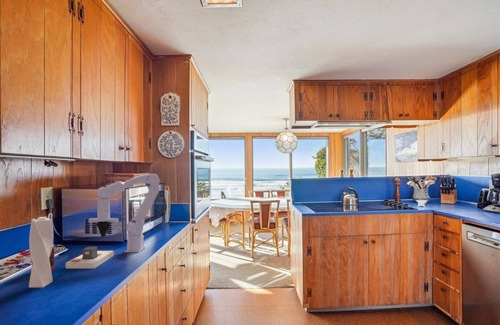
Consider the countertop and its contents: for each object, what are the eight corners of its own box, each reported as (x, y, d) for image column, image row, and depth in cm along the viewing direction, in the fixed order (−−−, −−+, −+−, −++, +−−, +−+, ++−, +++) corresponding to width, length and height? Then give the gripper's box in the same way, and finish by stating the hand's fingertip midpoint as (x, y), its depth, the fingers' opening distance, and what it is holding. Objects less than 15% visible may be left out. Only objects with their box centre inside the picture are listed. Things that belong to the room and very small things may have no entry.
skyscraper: (58, 280, 110) (59, 211, 111) (45, 288, 103) (46, 215, 103) (38, 280, 110) (39, 211, 110) (23, 289, 102) (24, 215, 103)
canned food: (28, 272, 119) (28, 247, 119) (48, 266, 126) (49, 243, 126) (37, 275, 115) (37, 249, 115) (57, 269, 122) (58, 245, 122)
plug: (90, 257, 135) (90, 245, 135) (99, 257, 135) (99, 245, 136) (82, 262, 129) (82, 249, 129) (91, 262, 129) (91, 249, 129)
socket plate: (89, 255, 141) (89, 249, 141) (113, 255, 141) (113, 249, 141) (65, 268, 123) (65, 261, 123) (94, 268, 123) (94, 261, 123)
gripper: (85, 211, 137) (84, 238, 137) (113, 211, 137) (113, 238, 137) (93, 209, 144) (92, 234, 144) (120, 209, 144) (120, 234, 144)
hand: (103, 236), depth 141 cm, fingers closed
